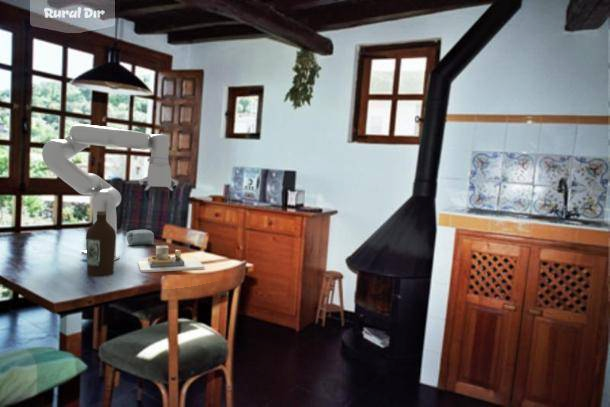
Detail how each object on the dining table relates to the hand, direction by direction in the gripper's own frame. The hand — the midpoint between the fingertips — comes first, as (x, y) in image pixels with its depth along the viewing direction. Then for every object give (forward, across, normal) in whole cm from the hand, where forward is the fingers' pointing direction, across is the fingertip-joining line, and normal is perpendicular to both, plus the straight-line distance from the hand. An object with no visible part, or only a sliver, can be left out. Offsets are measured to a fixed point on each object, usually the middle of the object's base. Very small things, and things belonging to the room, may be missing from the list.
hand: (158, 199), depth 194 cm
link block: (+26, 0, -14) cm, 29 cm away
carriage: (+27, +2, -14) cm, 30 cm away
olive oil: (+28, -24, -20) cm, 42 cm away
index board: (+28, +4, -14) cm, 32 cm away
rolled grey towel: (+29, -4, +36) cm, 46 cm away
